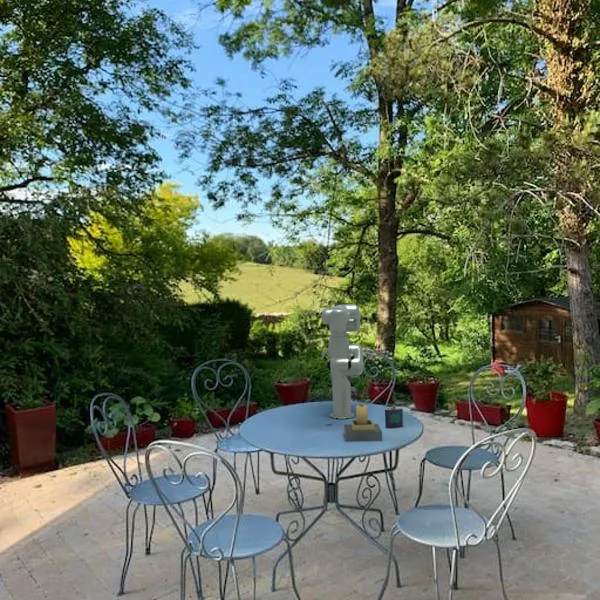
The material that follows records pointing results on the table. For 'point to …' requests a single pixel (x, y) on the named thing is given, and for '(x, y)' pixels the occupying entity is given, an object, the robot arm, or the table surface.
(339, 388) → the robot arm
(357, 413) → the cylinder
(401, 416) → the wallet
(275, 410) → the table surface
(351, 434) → the grey square socket base
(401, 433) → the table surface
